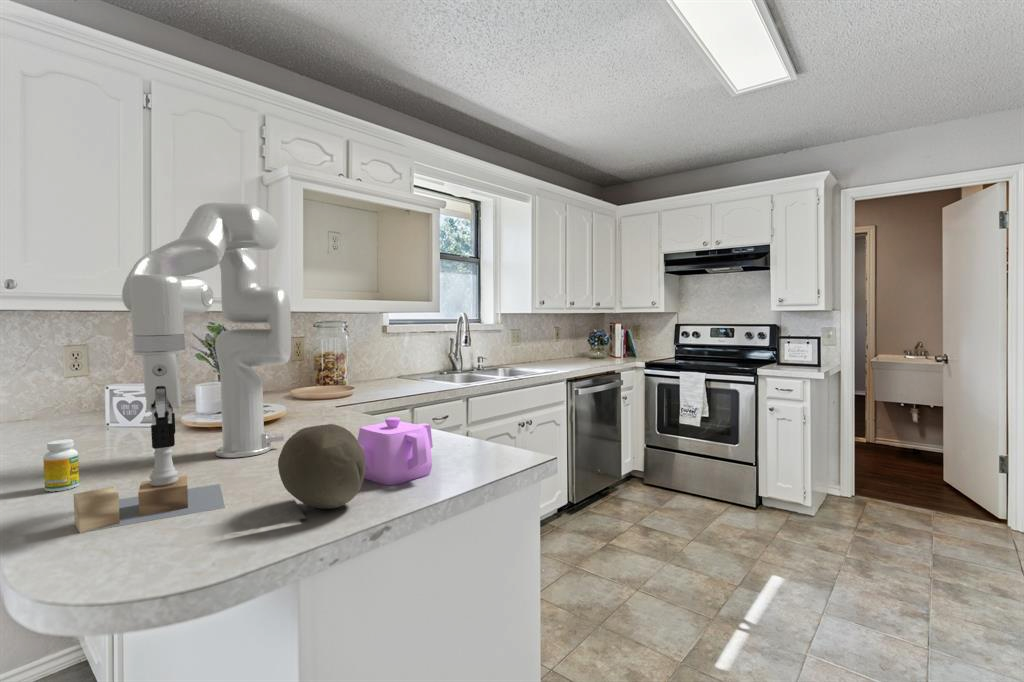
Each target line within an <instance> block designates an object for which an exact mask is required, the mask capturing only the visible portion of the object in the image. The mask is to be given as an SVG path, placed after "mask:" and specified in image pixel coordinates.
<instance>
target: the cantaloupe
mask: <svg viewBox="0 0 1024 682" xmlns="http://www.w3.org/2000/svg"><path fill="white" fill-rule="evenodd" d="M357 440H358V438H356V436H355V435H354V434H353V433H352V432H351V431H350V430H348V429H347V428H345V427H343V426H341V425H338V424H334V423H328V424H320V425H313V426H308V427H304V428H301V429H299V430H298V431H297V432H295V433H294V434H293V435H291V436H290V437H289V438H288V439H287V440H286V442H285V443H284V445H283V447H282V449H281V451H280V454H279V455H278V456H279V457H278V460H277V469H278V474H279V477H280V481H281V482H282V484H283V487H284V488H285V489H286V491H287V492H288V493H289V494H290V495H291V496H293V497H294V498H295V499H296V500H298V501H299V502H301V503H303V504H305V505H307V506H308V507H311V508H316V509H321V510H322V509H324V510H333V509H337V508H340V507H342V506H345V505H346V504H348V503H349V502H351V501H352V500H353V499H354V498H355V497H356V496H357V494H358V493H359V492H360V490H361V488H362V485H363V482H364V479H365V478H364V473H365V467H366V465H365V456H364V453H363V450H362V448H361V447H360V445H359V443H358V441H357Z"/></svg>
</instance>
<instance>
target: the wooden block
mask: <svg viewBox="0 0 1024 682" xmlns="http://www.w3.org/2000/svg"><path fill="white" fill-rule="evenodd" d="M177 477H178V478H179V479H178V481H177V482H176V483H174V484H171V485H167V486H160V487H154V486H151V485H150V484H149V482H150V481H151V480H145V481H141V482H140V484H139V489H138V491H137V492H138V494H137V496H138V499H139V516H143V515H149V514H155V513H160V512H166V511H172V510H178V509H184V508H188V489H189V488H188V475H182V476H177Z"/></svg>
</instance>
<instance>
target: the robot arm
mask: <svg viewBox="0 0 1024 682" xmlns="http://www.w3.org/2000/svg"><path fill="white" fill-rule="evenodd" d="M279 241H280V228H279V225H278V222H277V221H276V219H275V218H274V216H272V215H271V214H269V213H268V212H267V211H265V210H264V209H262V208H260V207H259V206H256V205H253V204H250V203H235V202H233V203H231V202H209V203H204V204H203V203H202V204H201V205H199V206H198V207H196V209H194V211H193V213H192V214H191V217H190V218H189V219H188V222H187V223H186V225H185V227H184V229H183V230H182V232H181V234H180V235H179V237H178V238H177V239H176V240H175V239H174V240H173V241H170V242H168V243H165V244H163V245H161V246H160V247H158V248H156V249H153V250H152V251H149V252H148V253H147V254H144V255H143V256H142V257H141V258H139V259H138V260H137V261H136V262H135V264H134V265H133V267H132V269H130V271H129V273H128V275H127V277H126V278H125V279H124V280H125V281H124V283H123V286H122V289H121V290H122V291H121V298H122V301H123V305H124V307H125V308H126V309H127V311H129V312H130V313H131V325H132V326H131V327H132V328H131V329H132V350H133V355H134V356H142V359H141V360H142V374H143V375H142V377H143V386H144V394H145V395H144V396H145V402H146V407H147V411H148V412H150V413H151V416H152V417H151V421H152V422H151V423H152V424H151V425H150V432H151V448H152V449H154V450H155V449H157V448H165V447H171V448H172V447H175V445H176V444H175V434H176V418H175V417H176V416H175V415H176V413H175V412H174V408H176V411H178V410H179V411H180V409H181V408H182V385H181V368H180V367H181V366H180V360H179V359H180V357H179V354H184V353H186V349H185V348H186V347H185V327H184V325H185V324H184V316H185V317H186V316H199V315H202V314H204V313H206V312H208V310H209V309H210V308H211V307H212V306H213V305H212V304H213V302H214V292H213V289H212V287H211V285H210V284H209V282H207V280H205V279H204V278H202V277H199V276H196V275H194V274H199V273H201V272H205V271H208V270H210V269H213V268H215V267H216V266H218V265H219V268H220V278H221V279H220V285H221V287H220V288H221V290H220V291H221V294H220V295H221V297H220V299H221V311H222V315H223V319H224V320H226V321H227V322H229V323H232V324H242V325H243V324H244V325H245V324H249V325H250V324H266V325H267V324H268V325H269V327H270V328H233V329H232V328H231V329H227V330H224V331H222V332H221V333H219V334H218V336H217V337H216V339H215V342H214V343H215V344H214V348H215V355H216V359H217V362H218V363H217V364H218V369H219V376H220V377H219V378H220V398H221V399H220V401H221V429H222V430H221V432H222V437H221V438H222V446H221V447H218V448H217V449H216V450H215V455H216V456H217V457H220V458H229V459H230V458H232V459H233V458H234V459H235V458H244V457H251V456H257V455H261V454H264V453H267V452H269V451H270V450H271V449H272V443H273V442H283V441H285V435H284V433H272V434H270V433H267V432H266V431H265V427H264V425H265V424H264V421H265V420H264V394H263V392H264V391H263V389H264V387H263V386H264V385H263V381H262V378H261V377H260V376H259V374H258V373H257V372H256V371H255V370H254V368H253V367H266V366H268V367H269V366H272V367H274V366H282V365H285V364H287V363H288V362H289V360H290V359H291V355H292V317H291V316H292V313H291V301H290V298H289V295H288V292H287V291H286V290H285V289H284V288H281V287H279V286H270V285H269V286H260V284H259V267H258V265H257V263H256V262H255V261H254V259H253V258H252V257H251V256H250V255H249V254H248V253H247V252H246V250H247V251H248V250H252V251H253V250H255V251H256V250H257V251H259V250H260V251H261V250H262V251H265V250H266V251H268V250H272V249H274V248H276V247H277V245H278V244H279ZM193 275H194V276H193Z"/></svg>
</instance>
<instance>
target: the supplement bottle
mask: <svg viewBox="0 0 1024 682" xmlns="http://www.w3.org/2000/svg"><path fill="white" fill-rule="evenodd" d="M74 445H75V444H74V440H73V439H71V438H70V439H67V438H65V439H59V440H53V441H49V442H47V444H46V447H47V451H48V452H46V453H45V454H44V456H43V474H44V476H43V477H44V478H43V479H44V490H45V492H48V491H49V493H56V492H55V491H58V492H63V491H62V490H65V491H68V490H67V489H69V490H72V489H71V488H73V489H75V488H78V487H79V486H80V466H79V463H80V462H79V452H78V450H76V449H75V448H74ZM74 487H75V488H74Z"/></svg>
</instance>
